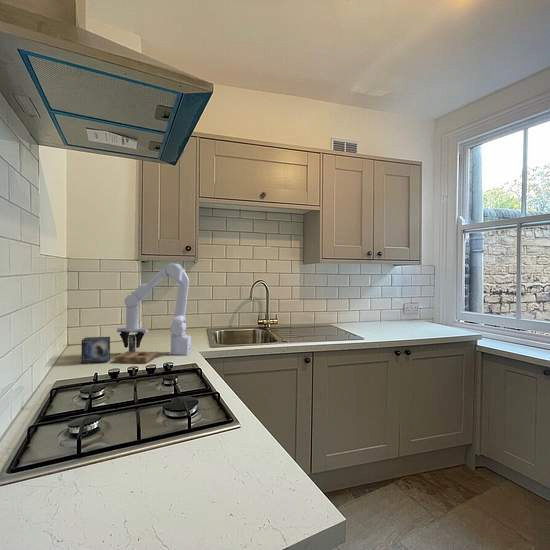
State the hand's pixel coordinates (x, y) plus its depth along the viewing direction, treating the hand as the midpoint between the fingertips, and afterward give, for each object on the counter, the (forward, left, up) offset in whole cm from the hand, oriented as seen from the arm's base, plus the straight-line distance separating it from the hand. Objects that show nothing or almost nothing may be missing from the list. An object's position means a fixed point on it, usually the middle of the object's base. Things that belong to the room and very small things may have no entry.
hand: (132, 347), depth 169 cm
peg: (0, 0, -3) cm, 3 cm away
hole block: (-8, +12, -3) cm, 15 cm away
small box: (+8, +17, -3) cm, 19 cm away
